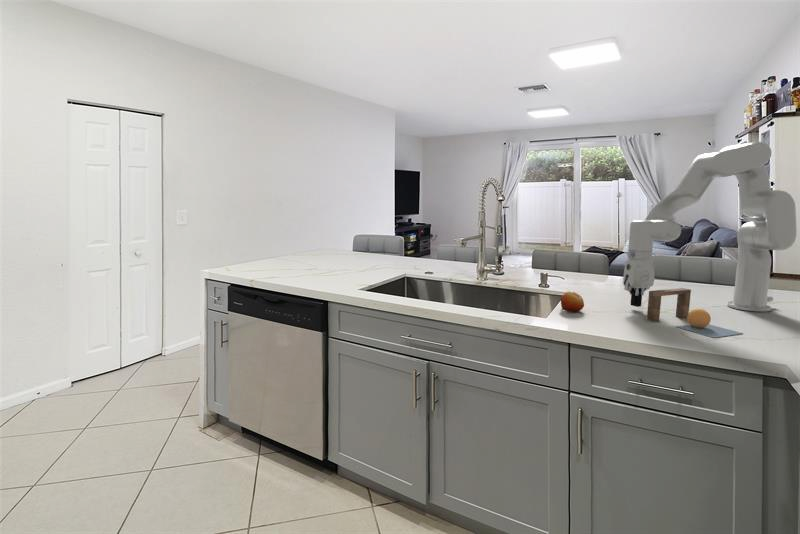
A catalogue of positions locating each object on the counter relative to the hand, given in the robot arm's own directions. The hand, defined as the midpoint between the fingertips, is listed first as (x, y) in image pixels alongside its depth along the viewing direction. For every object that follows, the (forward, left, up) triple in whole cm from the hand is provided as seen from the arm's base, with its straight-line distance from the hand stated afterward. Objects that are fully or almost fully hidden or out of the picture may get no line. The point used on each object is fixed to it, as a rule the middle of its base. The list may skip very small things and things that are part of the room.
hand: (635, 305), depth 161 cm
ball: (0, +24, +2) cm, 24 cm away
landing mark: (0, +27, -2) cm, 27 cm away
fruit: (+23, -6, -2) cm, 24 cm away
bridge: (0, +13, -2) cm, 13 cm away
